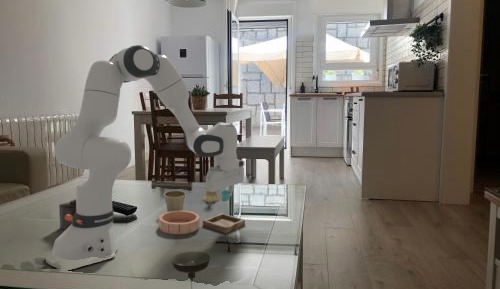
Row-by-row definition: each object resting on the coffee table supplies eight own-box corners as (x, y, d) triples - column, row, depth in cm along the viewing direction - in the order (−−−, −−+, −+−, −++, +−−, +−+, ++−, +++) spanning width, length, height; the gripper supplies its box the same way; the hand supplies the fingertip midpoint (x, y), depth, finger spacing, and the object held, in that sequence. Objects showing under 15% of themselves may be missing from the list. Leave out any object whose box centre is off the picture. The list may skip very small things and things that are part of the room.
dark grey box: (57, 228, 159) (55, 182, 156) (83, 220, 168) (82, 177, 164) (81, 239, 150) (79, 190, 147) (107, 230, 159) (107, 184, 156)
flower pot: (164, 217, 175) (164, 197, 173) (162, 210, 184) (162, 191, 182) (187, 216, 177) (187, 196, 176) (184, 208, 186) (184, 190, 185)
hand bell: (219, 202, 197) (220, 169, 194) (201, 201, 197) (202, 168, 194) (220, 197, 205) (221, 165, 202) (203, 196, 205) (204, 164, 203)
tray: (226, 233, 160) (226, 228, 160) (202, 225, 167) (202, 220, 167) (244, 224, 170) (245, 219, 170) (222, 217, 177) (222, 213, 177)
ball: (225, 203, 164) (225, 192, 164) (216, 201, 167) (217, 190, 166) (232, 200, 168) (232, 190, 167) (223, 198, 170) (224, 188, 170)
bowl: (179, 237, 154) (179, 227, 154) (150, 227, 163) (150, 217, 163) (207, 226, 167) (207, 216, 166) (179, 217, 176) (179, 207, 175)
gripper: (214, 169, 154) (213, 205, 157) (247, 161, 171) (245, 193, 173) (201, 167, 158) (201, 202, 161) (234, 158, 174) (233, 190, 177)
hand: (224, 197), depth 167 cm, fingers closed on ball, 4 cm apart
